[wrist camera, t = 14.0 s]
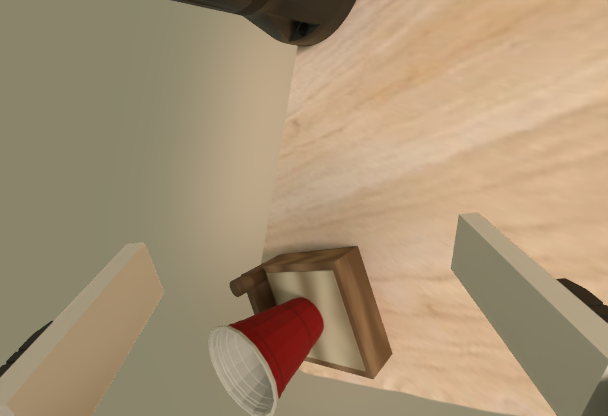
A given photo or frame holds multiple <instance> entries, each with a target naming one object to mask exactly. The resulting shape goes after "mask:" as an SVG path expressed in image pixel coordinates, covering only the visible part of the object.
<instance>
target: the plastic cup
mask: <svg viewBox="0 0 608 416" xmlns="http://www.w3.org/2000/svg"><path fill="white" fill-rule="evenodd" d="M323 329H324V322H323V318H322V316H321V313H320V311H319V310H318V309H317V307H316V306H315V305H314V304H313V303H312V302H311V301H309V300H308V299H306V298H303V297H299V298H295V299H291V300H289V301H287V302H285V303H282V304H280V305H276V306H274V307H272V308H269V309H267V310H265V311H263V312H260V313H258V314H256V315H254V316H251V317H249V318H247V319H245V320H242V321H238V322H236V323H234V324H230V325H228V326H218V327H216V328H214V329H213V331H212V332H211V333H210V335H209V344H208V348H209V352H210V357H211V362H212V364H213V366H214V368H215V371H216V373H217V376H218V378H219V380H220V381H221V383H222V384H223V386H224V387H225V389H226V390H227V392H228V394H229V395H230V396H231V397H232V398H233V399H234V400H235V401H236V403H237V404H238V405H239V406H240V407H241V408H243V409H244V410H245V411H247V412H248V413H249V414H251V415H252V416H273V415H274V413H275V411H276V407H277V404H278V400H279V398H280V396H281V394H282V392H283V391H284V389H285V387H286V385H287V383H288V382H289V381H290V379H291V378H292V376H293V375H294V374H295V372H296V370H297V369H298V368H299V367H300V365H301V364H302V362H303V361H304V360H305V358H306V357H307V355H308V354H309V353H310V350H311V349H312V347H313V346H314V345H315V343H316V342H317V341H318V339H319V338H320V336H321V334H322V332H323Z"/></svg>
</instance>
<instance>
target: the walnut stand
mask: <svg viewBox="0 0 608 416" xmlns="http://www.w3.org/2000/svg"><path fill="white" fill-rule="evenodd" d="M230 288H231V291H232V293H233V294H234V295H235V296H236V297H239V296H241V295H243V294H244V293H246V292H247V294H248V297H249V300H250V303H251V305H252V309H253V311H254V314H255V315H256V314H258V313H260V312H263V311H265V310H267V309H269V308H272V307H274V306H276V305H280V304H282V303H285V302H287V301H289V300H291V299H295V298H299V297H303V298H306V299H308V300H309V301H311V302H312V303H313V304H314V305H315V306H316V307H317V309H318V310H319V311H320V313H321V316H322V318H323V322H324V329H323V332H322V334H321V336H320V338H319V339H318V341H317V342H316V343H315V345H314V346H313V347H312V349H311V350H310V353H309V354H308V355H307V357H306V358H305V360H304V361H308V362H312V363H315V364H319V365H323V366H326V367H330V368H334V369H337V370H341V371H345V372H348V373H352V374H356V375H359V376H363V377H367V378H370V379H374V378H375V376H376V375H377V374H378V372H379V371H380V370H381V368H382V367H383V366H384V364H385V363H386V362H387V360H388V359H389V358H390V356H391V355H392V351H391V348H390V345H389V342H388V338H387V335H386V332H385V329H384V326H383V323H382V320H381V317H380V314H379V311H378V308H377V304H376V301H375V298H374V295H373V292H372V289H371V286H370V283H369V280H368V277H367V274H366V270H365V267H364V264H363V261H362V258H361V255H360V252H359V249H358V246H356V247H347V248H338V249H328V250H319V251H310V252H300V253H291V254H282V255H278V256H276V257H275V258H273V259H271V260H269V261H267V262H265V263H263V264H261V265H259V266H257V267H255V268H254V269H252V270H250V271H248V272H246V273H244V274H242V275H241V277H238V278H237V279H235V280H233V281H231V282H230Z"/></svg>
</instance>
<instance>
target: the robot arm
mask: <svg viewBox="0 0 608 416" xmlns="http://www.w3.org/2000/svg"><path fill="white" fill-rule="evenodd" d="M172 1H177V2H182V3H187V4H191V5H196V6H201V7H206V8H210V9H214V10H219V11H224V12H228V13H234V14H238V15H241V16H244V17H245V18H247V19H248V20H249V21H251V22H252V23H253V24H255V25H256V26H258V27H259V28H260V29H262V30H263V31H265V32H266V33H267V34H269V35H270V36H271V37H273V38H274V39H276V40H278V41H280V42H283V43H287V44H292V45H298V46H309V45H313V44H316V43H318V42H320V41H322V40H324V39H326V38H327V37H328V36H330V35H331V34H332V33H333V32H334V31H335V30H336V29H337V28H338V27H339V26H340V25H341V24H342V22H343V21H344V20H345V18H346V17H347V15H348V14H349V12H350V10H351V9H352V7H353V5H354V3H355V1H356V0H172ZM451 269H452V271H453V272H454V273H455V275H456V276H457V278H458V279H459V280H460V282H461V283H462V285H463V286H464V287H465V289H466V290H467V291H468V293H469V294H470V296H471V297H472V298H473V300H474V301H475V303H476V304H477V305H478V307H479V308H480V309H481V311H482V312H483V314H484V315H485V316H486V318H487V319H488V321H489V322H490V323H491V325H492V326H493V327H494V329H495V330H496V332H497V333H498V334H499V336H500V337H501V339H502V340H503V341H504V343H505V344H506V345H507V347H508V348H509V350H510V351H511V352H512V354H513V355H514V357H515V358H516V359H517V361H518V362H519V363H520V365H521V366H522V368H523V369H524V370H525V372H526V373H527V375H528V376H529V377H530V379H531V380H532V382H533V383H534V384H535V386H536V387H537V388H538V390H539V391H540V393H541V394H542V395H543V397H544V398H545V400H546V401H547V402H548V404H549V405H550V406H551V408H552V409H553V411H554V412H555V413H556V415H557V416H608V306H607V305H603V302H602V301H601V300H599V299H598V298H597V297H596V296H594V295H593V294H592V293H591V292H589V291H588V290H587V289H585V288H583V287H581V286H579V285H577V284H575V283H573V282H572V281H570V280H568V279H566V278H564V279H555V278H554V277H553V276H552V275H550V274H549V273H548V272H547V271H546V270H545V269H543V268H542V267H541V266H540V265H539V264H538V263H536V262H535V261H534V260H533V259H532V258H531V257H529V256H528V255H527V254H526V253H525V252H524V251H522V250H521V249H520V248H519V247H518V246H517V245H515V244H514V243H513V242H512V241H511V240H510V239H508V238H507V237H506V236H505V235H504V234H503V233H501V232H500V231H499V230H498V229H497V228H496V227H494V226H493V225H492V224H491V223H490V222H489V221H487V220H486V219H485V218H484V217H483V216H482V215H480V214H479V213H467V214H459V218H458V225H457V231H456V238H455V245H454V251H453V258H452V265H451ZM163 294H164V290H163V288H162V285H161V283H160V280H159V278H158V275H157V273H156V270H155V268H154V265H153V263H152V260H151V258H150V255H149V252H148V250H147V247H146V245H145V243H144V242H143V243H132V244H126V245H125V247H124V248H123V249H122V250H121V251H120V252H119V253H118V254H117V255H116V256H115V257H114V258H113V259H112V260H111V261H110V262H109V263H108V265H107V266H106V267H105V268H104V269H103V270H102V271H101V272H100V273H99V274H98V275H97V276H96V277H95V278H94V279H93V280H92V281H91V282H90V284H88V286H87V287H86V288H85V289H84V290H83V291H82V292H81V293H80V294H79V295H78V296H77V297H76V298H75V299H74V300H73V301H72V302H71V303H70V305H69V306H68V307H67V308H66V309H65V310H64V311H63V312H62V313H61V314H60V315H59V316H58V317H57V319H55V320H54V321H51V322H49V323H48V324H47V325H45V326H44V327H42V328H41V329H40V330H38V331H37V332H35V333H34V334H33V335H32V336H31V337H30V338H29V339H28V340H27V341H26V342H25V343H24V344H23V345H22V346H21V347H20V348H19V351H18V352H15V353H14V354H13V355H12V356H11V357H10V358H9V359H8V360H7V361H6V362H7V363H6V365H2V366H1V367H0V416H92V415H93V413H94V411H95V409H96V408H97V406H98V404H99V403H100V401H101V399H102V398H103V396H104V394H105V392H106V391H107V389H108V387H109V385H110V384H111V382H112V380H113V379H114V377H115V375H116V374H117V372H118V370H119V368H120V367H121V365H122V364H123V362H124V360H125V358H126V357H127V355H128V353H129V352H130V350H131V348H132V347H133V345H134V343H135V341H136V340H137V338H138V336H139V334H140V333H141V331H142V329H143V328H144V326H145V324H146V323H147V321H148V319H149V318H150V316H151V314H152V312H153V311H154V309H155V307H156V306H157V304H158V302H159V300H160V299H161V297H162V296H163Z"/></svg>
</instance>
